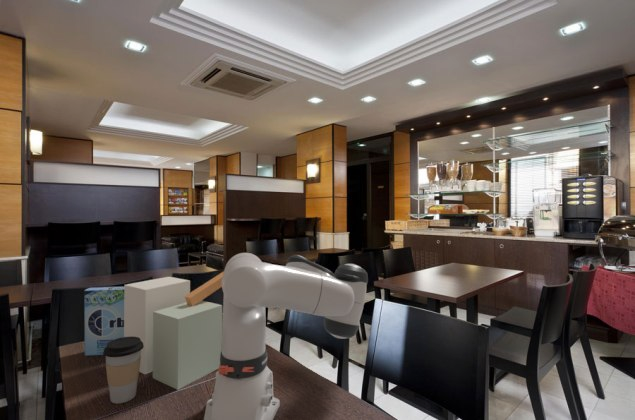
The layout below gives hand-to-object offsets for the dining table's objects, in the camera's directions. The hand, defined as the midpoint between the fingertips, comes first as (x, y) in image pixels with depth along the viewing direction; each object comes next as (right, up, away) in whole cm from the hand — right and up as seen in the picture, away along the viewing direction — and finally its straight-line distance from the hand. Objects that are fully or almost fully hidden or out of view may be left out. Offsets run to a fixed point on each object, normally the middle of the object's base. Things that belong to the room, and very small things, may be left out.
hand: (241, 260), depth 123 cm
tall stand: (-26, -32, -11) cm, 42 cm away
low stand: (-12, -32, -20) cm, 39 cm away
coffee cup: (-24, -32, -34) cm, 52 cm away
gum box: (-43, -32, -6) cm, 54 cm away
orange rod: (-5, -7, -7) cm, 12 cm away
